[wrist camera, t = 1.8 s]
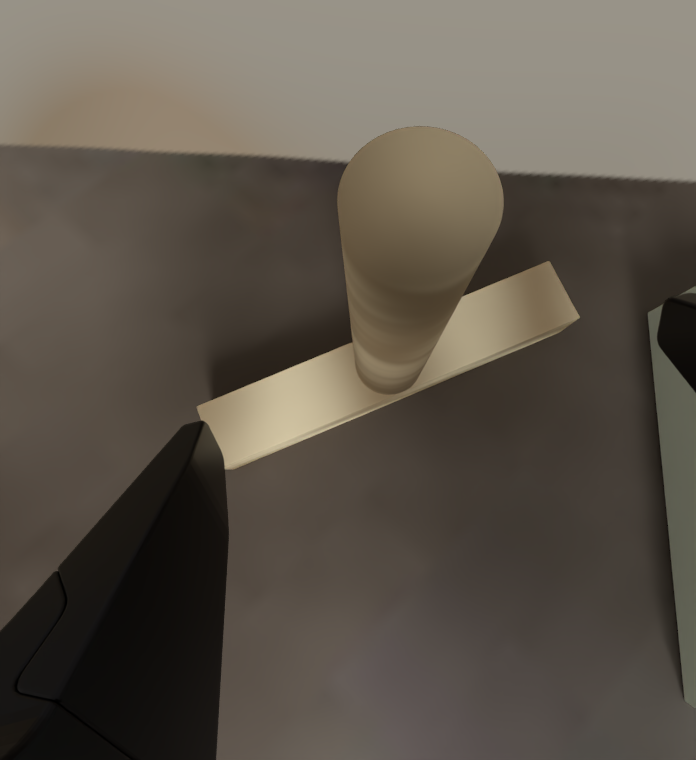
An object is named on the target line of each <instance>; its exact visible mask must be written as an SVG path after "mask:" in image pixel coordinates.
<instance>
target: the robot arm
mask: <svg viewBox="0 0 696 760" xmlns="http://www.w3.org/2000/svg"><path fill="white" fill-rule="evenodd" d="M657 342H658V345H659V347H660V348H661V350H662V351H663V352H664V354H665V355H666V356H667V357H668V359H669V360H670V361H671V362H672V364H673V365H674V366H675V368H676V369H677V370H678V371H679V373H680V374H681V375H682V376H683V378H684V379H685V380H686V381H687V383H688V384H689V385H690V386H691V388H692V389H693V390H694V392H695V393H696V293H685V294H681V295H677V296H674V297H670V298H668V299H667V300H665V302H664V303H663V306H662V310H661V315H660V321H659V326H658V331H657ZM228 541H229V526H228V509H227V494H226V480H225V465H224V458H223V454H222V451H221V449H220V447H219V445H218V443H217V441H216V439H215V437H214V435H213V433H212V431H211V429H210V427H209V425H208V424H207V423H206V422H205V421H203V420H202V421H197V422H194V423H190V424H186V425H184V426H182V427H181V428H180V429H179V430H178V432H177V433H176V434H175V435H174V436H173V437H172V438H171V440H170V441H169V442H168V443H167V444H166V445H165V446H164V448H163V449H162V450H161V451H160V452H159V453H158V454H157V455H156V457H155V458H154V459H153V460H152V461H151V462H150V463H149V465H148V466H147V467H146V468H145V469H144V470H143V471H142V473H141V474H140V475H139V476H138V477H137V478H136V479H135V480H134V482H133V483H132V484H131V485H130V486H129V487H128V488H127V490H126V491H125V492H124V493H123V494H122V495H121V496H120V497H119V499H118V500H117V501H116V502H115V503H114V504H113V505H112V507H111V508H110V509H109V510H108V511H107V512H106V513H105V515H104V516H103V517H102V518H101V519H100V520H99V521H98V522H97V524H96V525H95V526H94V527H93V528H92V529H91V530H90V532H89V533H88V534H87V535H86V536H85V537H84V538H83V539H82V541H81V542H80V543H79V544H78V545H77V546H76V547H75V549H74V550H73V551H72V552H71V553H70V554H69V555H68V556H67V558H66V559H65V560H64V561H63V562H62V563H61V564H60V566H59V567H58V571H55V572H53V573H52V575H51V576H50V577H49V578H48V579H47V580H46V581H45V582H44V584H43V585H42V586H41V587H40V588H39V589H38V590H37V592H36V593H35V594H34V595H33V596H32V597H31V598H30V599H29V600H28V601H27V603H26V604H25V605H24V606H23V607H22V608H21V609H20V610H19V611H18V612H17V614H16V615H15V616H14V617H13V618H12V619H11V620H10V621H9V622H8V623H7V624H6V625H5V626H4V627H3V629H2V630H1V631H0V760H216V751H217V734H218V717H219V699H220V682H221V664H222V647H223V630H224V612H225V595H226V577H227V560H228Z"/></svg>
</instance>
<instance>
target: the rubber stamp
mask: <svg viewBox="0 0 696 760" xmlns="http://www.w3.org/2000/svg"><path fill="white" fill-rule="evenodd" d="M337 206H338V217H339V226H340V235H341V243H342V252H343V261H344V270H345V278H346V287H347V296H348V305H349V314H350V322H351V331H352V340H353V342H351V343H349V344H347V345H344V346H342V347H339V348H337V349H335V350H332V351H330V352H327V353H325V354H322V355H320V356H318V357H315V358H313V359H310V360H308V361H306V362H303V363H301V364H298V365H296V366H293V367H291V368H289V369H286V370H284V371H281V372H279V373H276V374H274V375H272V376H269V377H267V378H264V379H262V380H260V381H257V382H255V383H252V384H250V385H247V386H245V387H243V388H240V389H238V390H235V391H233V392H231V393H228V394H226V395H223V396H221V397H218V398H216V399H214V400H211V401H209V402H206V403H204V404H202V405H199V406H197V410H198V412H199V415H200V418H201V421H202V420H203V421H205V422H206V423H207V424H208V425H209V427H210V429H211V431H212V433H213V435H214V437H215V439H216V441H217V443H218V445H219V447H220V449H221V451H222V454H223V458H224V465H225V469H236V468H238V467H241V466H243V465H245V464H248V463H250V462H252V461H255V460H257V459H260V458H262V457H264V456H267V455H269V454H271V453H274V452H276V451H279V450H281V449H283V448H286V447H288V446H291V445H293V444H295V443H298V442H300V441H302V440H305V439H307V438H310V437H312V436H314V435H317V434H319V433H321V432H324V431H326V430H329V429H331V428H333V427H336V426H338V425H341V424H343V423H345V422H348V421H350V420H352V419H355V418H357V417H360V416H362V415H364V414H367V413H369V412H371V411H374V410H376V409H379V408H381V407H383V406H386V405H388V404H391V403H393V402H395V401H398V400H400V399H402V398H405V397H407V396H410V395H412V394H414V393H417V392H419V391H421V390H424V389H426V388H429V387H431V386H433V385H436V384H438V383H440V382H443V381H445V380H448V379H450V378H452V377H455V376H457V375H460V374H462V373H464V372H467V371H469V370H471V369H474V368H476V367H479V366H481V365H483V364H486V363H488V362H490V361H493V360H495V359H498V358H500V357H502V356H505V355H507V354H510V353H512V352H514V351H517V350H519V349H521V348H524V347H526V346H529V345H531V344H533V343H536V342H538V341H540V340H543V339H545V338H548V337H550V336H552V335H555V334H557V333H559V332H561V331H562V330H564V329H565V328H566V327H568V326H569V325H570V324H572V323H573V322H575V321H576V320H577V319H579V318H580V317H579V315H578V313H577V311H576V309H575V307H574V306H573V304H572V302H571V300H570V298H569V296H568V294H567V293H566V291H565V289H564V287H563V285H562V283H561V282H560V280H559V278H558V276H557V274H556V272H555V270H554V269H553V267H552V265H551V263H550V261H547V262H545V263H542V264H540V265H538V266H535V267H533V268H530V269H528V270H525V271H523V272H521V273H518V274H516V275H513V276H511V277H509V278H506V279H504V280H501V281H499V282H496V283H494V284H492V285H489V286H487V287H484V288H482V289H480V290H477V291H475V292H472V293H470V294H467V295H465V296H463V294H464V292H465V290H466V288H467V287H468V285H469V283H470V281H471V279H472V277H473V276H474V274H475V272H476V270H477V268H478V266H479V264H480V263H481V261H482V259H483V257H484V255H485V253H486V252H487V250H488V248H489V246H490V244H491V242H492V240H493V239H494V237H495V235H496V233H497V231H498V228H499V226H500V223H501V219H502V215H503V208H504V196H503V189H502V185H501V182H500V178H499V176H498V174H497V171H496V169H495V168H494V166H493V164H492V163H491V161H490V160H489V159H488V157H487V156H486V155H485V154H484V153H483V152H482V151H481V150H480V149H479V148H478V147H477V146H476V145H474V144H473V143H472V142H470V141H469V140H467V139H465V138H464V137H462V136H460V135H458V134H456V133H453V132H450V131H448V130H444V129H440V128H434V127H423V126H416V127H406V128H401V129H396V130H393V131H390V132H387V133H385V134H383V135H381V136H378V137H377V138H375V139H373V140H372V141H370V142H369V143H367V144H366V145H365V146H364V147H362V148H361V149H360V150H359V151H358V153H356V154H355V156H354V157H353V158H352V159H351V161H350V162H349V164H348V165H347V167H346V169H345V171H344V173H343V175H342V178H341V181H340V184H339V189H338V197H337ZM462 296H463V297H462Z"/></svg>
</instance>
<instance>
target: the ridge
mask: <svg viewBox="0 0 696 760" xmlns="http://www.w3.org/2000/svg"><path fill="white" fill-rule="evenodd" d="M685 293H696V286H694V287H693V288H691V289H689V290H687V291H686V292H684V293H682V294H685ZM680 295H681V294H680ZM662 306H663V304H662V305H661V306H659V307H657V308H655V309H654V310H652V311H650V312H648V324H649V334H650V344H651V355H652V365H653V376H654V386H655V397H656V407H657V417H658V428H659V438H660V449H661V459H662V470H663V480H664V491H665V501H666V511H667V522H668V532H669V543H670V553H671V564H672V574H673V584H674V595H675V605H676V616H677V626H678V637H679V647H680V657H681V668H682V678H683V689H684V699H685V702H687V703H688V704H689V705H691V706H692V707H693V708H695V709H696V393H695V392H694V390H693V389H692V388H691V386H690V385H689V384H688V383H687V381H686V380H685V379H684V378H683V376H682V375H681V374H680V373H679V371H678V370H677V369H676V368H675V366H674V365H673V364H672V362H671V361H670V360H669V359H668V357H667V356H666V355H665V354H664V352H663V351H662V350H661V348H660V347H659V345H658V342H657V331H658V326H659V321H660V315H661V310H662Z"/></svg>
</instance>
